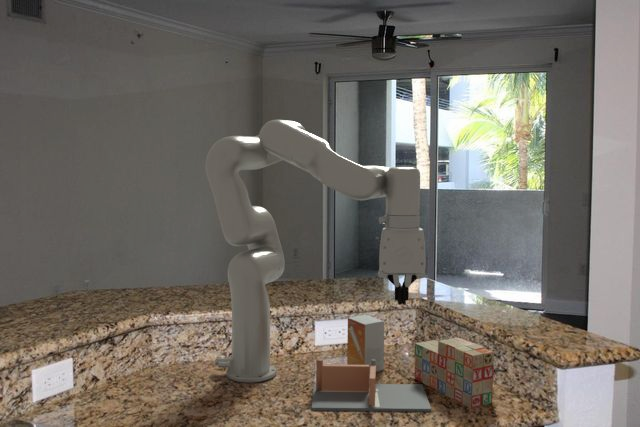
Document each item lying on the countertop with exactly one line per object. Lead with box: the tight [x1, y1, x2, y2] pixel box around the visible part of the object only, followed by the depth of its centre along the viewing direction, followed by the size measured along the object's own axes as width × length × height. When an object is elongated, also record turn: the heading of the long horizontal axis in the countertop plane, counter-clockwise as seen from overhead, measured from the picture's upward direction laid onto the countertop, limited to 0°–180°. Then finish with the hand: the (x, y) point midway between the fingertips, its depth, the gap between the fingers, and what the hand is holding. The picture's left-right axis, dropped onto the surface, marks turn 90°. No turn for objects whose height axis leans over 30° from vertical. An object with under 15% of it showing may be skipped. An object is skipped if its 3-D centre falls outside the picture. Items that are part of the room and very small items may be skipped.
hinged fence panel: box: [369, 359, 377, 405], centre depth 148 cm, size 10×1×7 cm, turn 174°
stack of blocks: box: [414, 337, 495, 409], centre depth 154 cm, size 21×6×12 cm, turn 28°
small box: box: [346, 314, 385, 374], centre depth 170 cm, size 8×6×13 cm
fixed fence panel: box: [315, 358, 370, 391], centre depth 152 cm, size 12×2×7 cm, turn 89°
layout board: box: [311, 382, 432, 412], centre depth 150 cm, size 26×15×1 cm, turn 89°
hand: (401, 303), depth 147 cm, fingers closed
